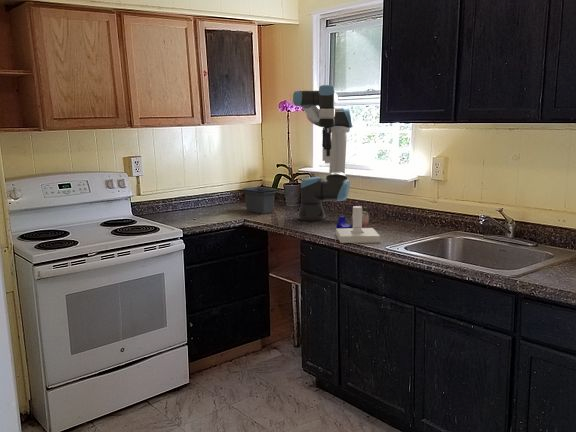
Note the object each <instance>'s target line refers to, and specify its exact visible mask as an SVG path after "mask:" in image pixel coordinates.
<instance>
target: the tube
mask: <svg viewBox="0 0 576 432" xmlns="http://www.w3.org/2000/svg"><path fill="white" fill-rule="evenodd" d="M362 211H363V206H362V205H358V206H357V205H355V206H354V205H353V206H352V214H353V233H362V228H363V227H362Z"/></svg>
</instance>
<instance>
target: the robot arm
mask: <svg viewBox="0 0 576 432" xmlns="http://www.w3.org/2000/svg"><path fill="white" fill-rule="evenodd" d="M318 89H319V90H296V91H294V92H293V94H292V103H293V105H294V106H295V107H301V108H302V110H303V111H304V113H306V118H307V120H308V121H309V122H310V123H311V124H312V125H315V126H317V127H319V128H322V132H321V135H322V136H321V137H322V141H321V146H322V162H324V163H325V164H329V171H328V174H327V175H326V177H325V179H323V177H322V176H312V177H306V178H302V179H301V183H300V191H301V192H300V202H301V203H300V207H299V211H298V214H297V219H298V220H301V221H306V222H307V221H308V222H309V221H311V222H312V221H314V222H316V221H317V222H318V221H323V220H325V218H326V213H325V211H324V208H323V201H327V202H329V201H337V202H341V201H342V202H343V201H346V200H347V199H348V197H349V192H350V185H351V181H350V179H348V176H347V175H346V174H345V172H346V155H347V153H346V152H347V138H348V137H347V136H348V133H349V132H350V130H351V129H352V128H353V126H354V123H353V114H352V109H351V107H349V106H335V105H336V104H337V103H338V100H339V96H338V93H337V92H336V89H335V86H334V85H333V84H326V85H325V84H323V85H319V87H318Z"/></svg>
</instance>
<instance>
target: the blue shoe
mask: <svg viewBox="0 0 576 432" xmlns="http://www.w3.org/2000/svg"><path fill="white" fill-rule="evenodd" d="M351 223H352V222H351ZM336 228H353V223H352V224H351V225H349V224H348V223H347V220H346V216H344V215H340V216H338V222H336Z"/></svg>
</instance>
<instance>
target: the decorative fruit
mask: <svg viewBox="0 0 576 432" xmlns="http://www.w3.org/2000/svg"><path fill="white" fill-rule="evenodd" d="M351 214H352V215H351V217H350V220H351V223H353V213H351ZM369 222H370V216H369V213H368V212H367V211H365V210H362V228H365V227H366V226H367V225H368V223H369Z"/></svg>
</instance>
